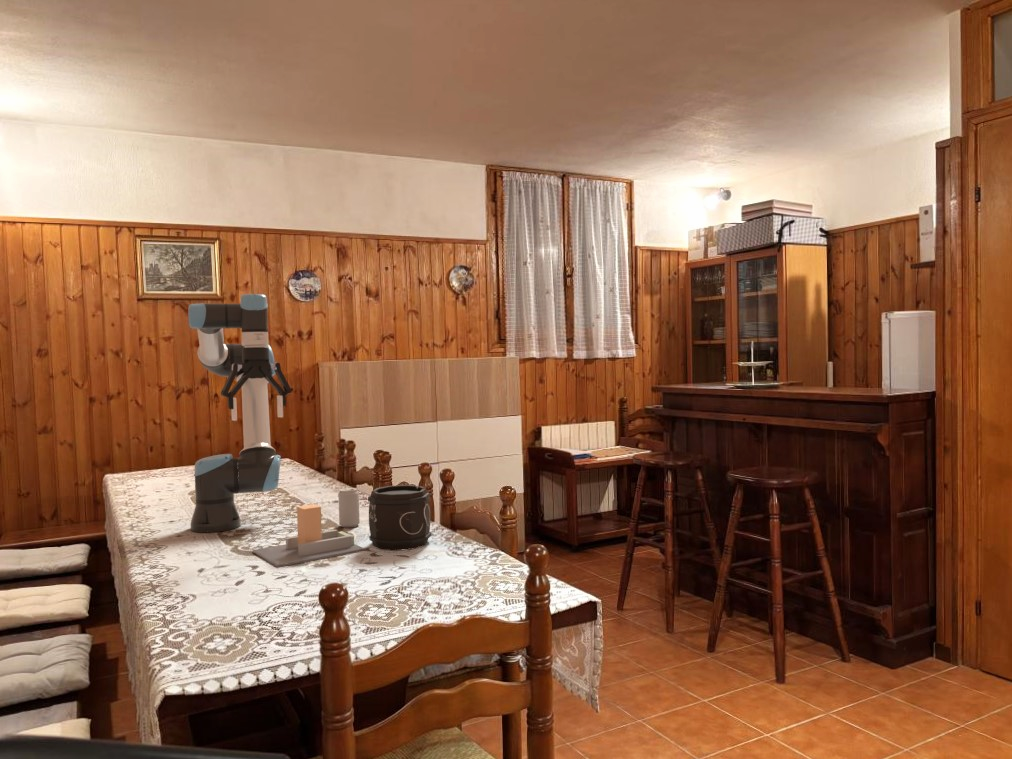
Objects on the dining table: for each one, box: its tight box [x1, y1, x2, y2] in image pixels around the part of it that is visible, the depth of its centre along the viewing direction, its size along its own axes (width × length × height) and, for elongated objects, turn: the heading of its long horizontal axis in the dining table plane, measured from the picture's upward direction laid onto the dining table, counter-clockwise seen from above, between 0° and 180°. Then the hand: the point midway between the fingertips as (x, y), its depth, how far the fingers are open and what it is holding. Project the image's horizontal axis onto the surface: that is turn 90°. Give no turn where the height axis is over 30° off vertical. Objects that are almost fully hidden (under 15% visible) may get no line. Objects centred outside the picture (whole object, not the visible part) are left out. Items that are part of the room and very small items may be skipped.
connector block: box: [296, 503, 323, 544], centre depth 212 cm, size 5×5×12 cm
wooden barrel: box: [367, 484, 432, 551], centre depth 219 cm, size 18×18×16 cm
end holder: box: [252, 529, 366, 568], centre depth 212 cm, size 20×25×4 cm
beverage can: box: [337, 487, 361, 529], centre depth 243 cm, size 6×6×12 cm
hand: (257, 418), depth 223 cm, fingers open, 13 cm apart
